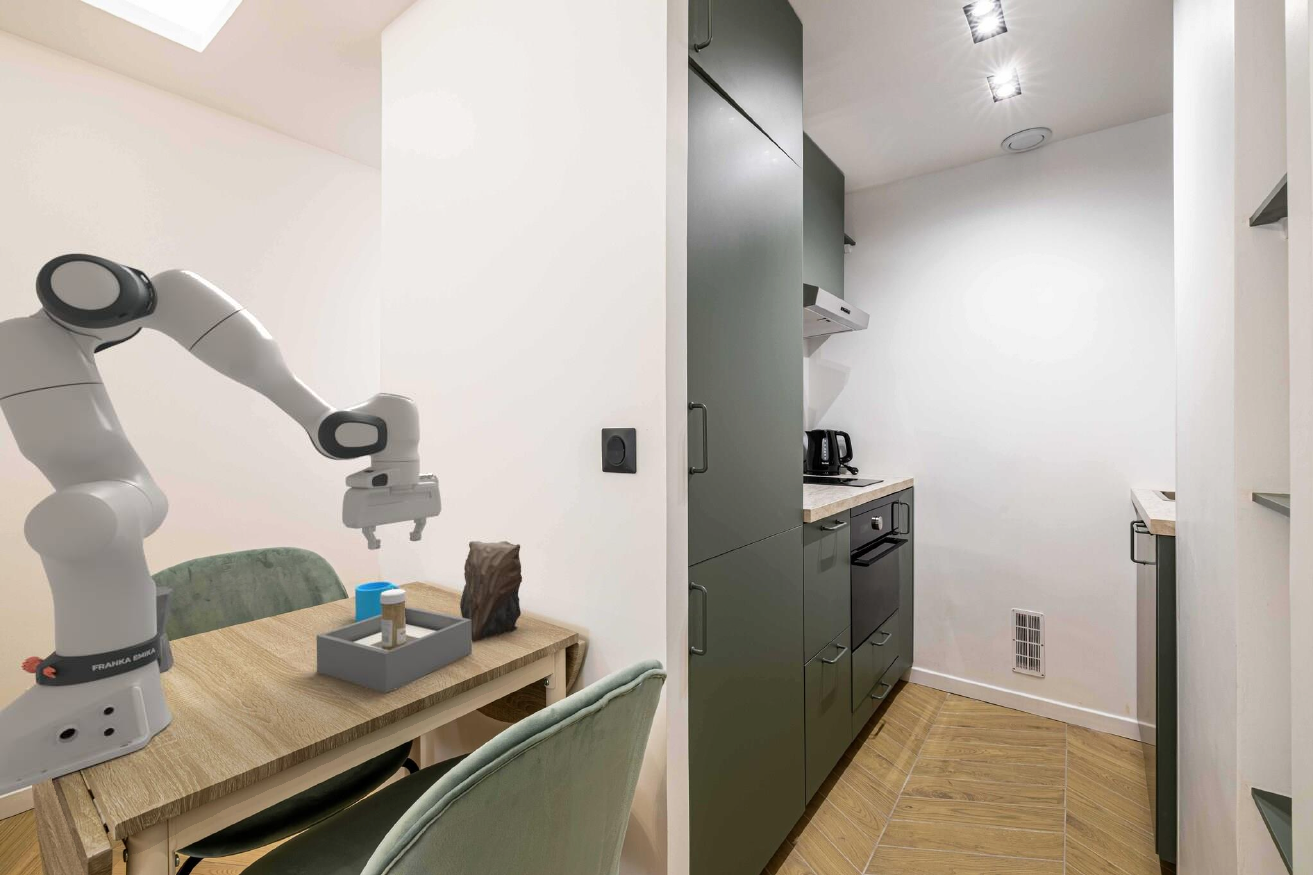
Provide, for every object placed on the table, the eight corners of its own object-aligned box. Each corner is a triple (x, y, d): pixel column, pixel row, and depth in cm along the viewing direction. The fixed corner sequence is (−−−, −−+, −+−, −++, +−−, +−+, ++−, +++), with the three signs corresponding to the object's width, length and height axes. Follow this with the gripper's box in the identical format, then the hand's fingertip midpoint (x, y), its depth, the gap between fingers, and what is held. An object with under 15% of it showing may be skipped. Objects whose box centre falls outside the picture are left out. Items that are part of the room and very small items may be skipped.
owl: (458, 625, 133) (458, 541, 133) (511, 616, 139) (510, 536, 139) (470, 642, 122) (469, 551, 122) (527, 631, 128) (526, 544, 128)
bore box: (386, 693, 98) (385, 654, 98) (317, 671, 107) (316, 635, 107) (471, 653, 116) (471, 619, 116) (406, 637, 125) (405, 606, 125)
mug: (372, 626, 132) (371, 592, 132) (347, 622, 136) (347, 588, 136) (412, 611, 144) (411, 579, 143) (388, 607, 147) (388, 576, 147)
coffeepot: (144, 658, 114) (142, 571, 114) (193, 656, 115) (192, 569, 115) (73, 694, 99) (71, 592, 98) (130, 691, 100) (129, 591, 99)
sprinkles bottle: (409, 659, 110) (408, 591, 110) (384, 665, 107) (383, 596, 107) (402, 652, 114) (402, 586, 114) (378, 658, 111) (377, 591, 111)
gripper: (427, 471, 122) (427, 535, 122) (337, 478, 104) (337, 552, 104) (448, 472, 119) (448, 537, 119) (358, 479, 101) (358, 555, 101)
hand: (395, 544), depth 111 cm, fingers open, 8 cm apart
